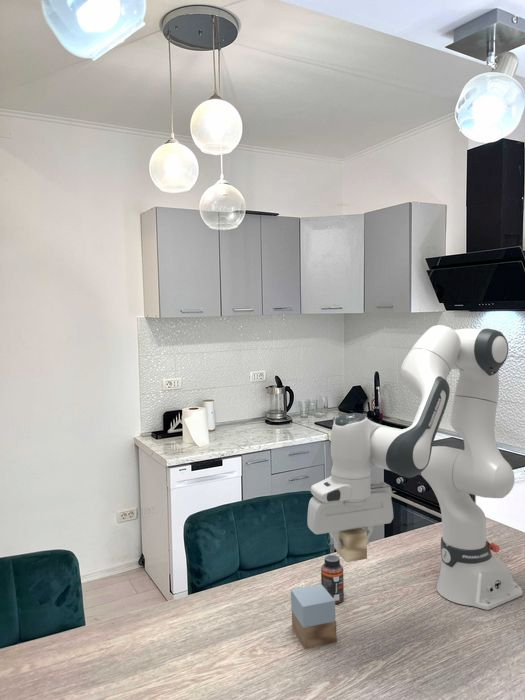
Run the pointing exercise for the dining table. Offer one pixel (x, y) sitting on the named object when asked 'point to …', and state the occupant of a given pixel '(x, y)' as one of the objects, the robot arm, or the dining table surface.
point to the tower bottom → (314, 633)
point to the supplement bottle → (333, 577)
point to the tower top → (312, 605)
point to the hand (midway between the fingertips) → (351, 546)
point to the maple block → (353, 544)
